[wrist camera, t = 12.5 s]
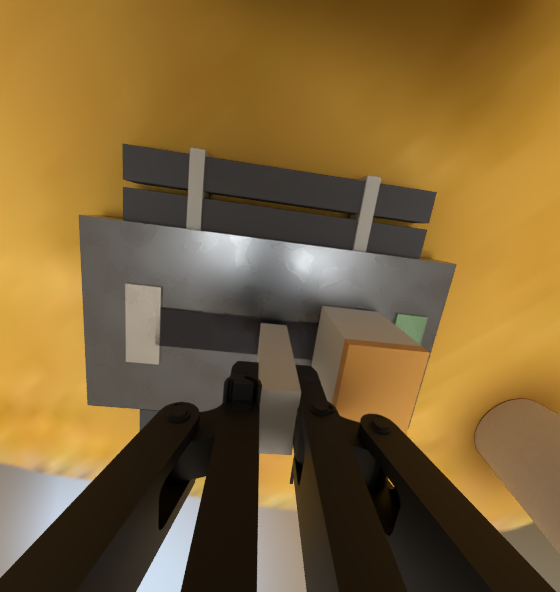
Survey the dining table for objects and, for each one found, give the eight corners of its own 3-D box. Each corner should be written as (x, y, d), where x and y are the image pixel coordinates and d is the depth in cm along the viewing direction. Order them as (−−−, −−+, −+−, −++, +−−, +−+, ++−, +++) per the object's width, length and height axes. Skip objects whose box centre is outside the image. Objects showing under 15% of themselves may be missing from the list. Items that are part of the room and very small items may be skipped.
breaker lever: (322, 305, 17) (349, 344, 12) (378, 311, 17) (429, 352, 12) (309, 377, 18) (328, 443, 13) (362, 382, 19) (401, 447, 13)
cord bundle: (137, 146, 17) (120, 136, 15) (421, 190, 18) (440, 186, 16) (137, 224, 18) (121, 225, 16) (404, 259, 19) (420, 263, 18)
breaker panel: (104, 215, 18) (76, 214, 15) (432, 259, 20) (458, 264, 17) (108, 383, 21) (85, 407, 18) (392, 406, 23) (409, 430, 20)
